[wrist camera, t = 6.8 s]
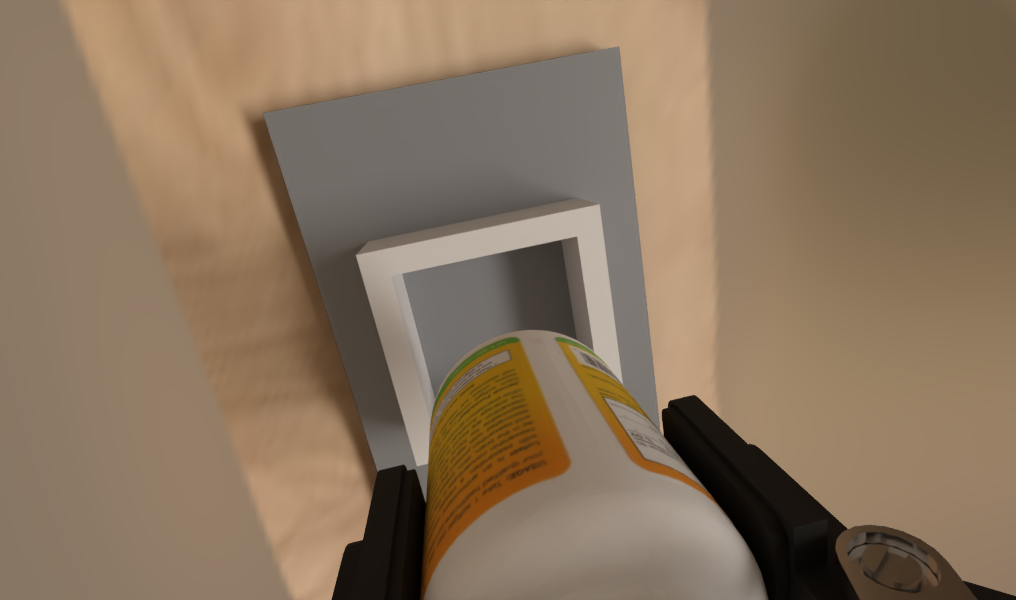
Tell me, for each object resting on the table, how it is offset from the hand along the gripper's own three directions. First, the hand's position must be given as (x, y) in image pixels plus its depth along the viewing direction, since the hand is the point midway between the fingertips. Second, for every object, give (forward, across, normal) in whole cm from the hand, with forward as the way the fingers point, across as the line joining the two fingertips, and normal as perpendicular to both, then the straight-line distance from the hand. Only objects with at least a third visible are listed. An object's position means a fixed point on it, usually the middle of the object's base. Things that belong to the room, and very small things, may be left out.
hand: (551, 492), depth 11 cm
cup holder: (+13, 0, 0) cm, 13 cm away
